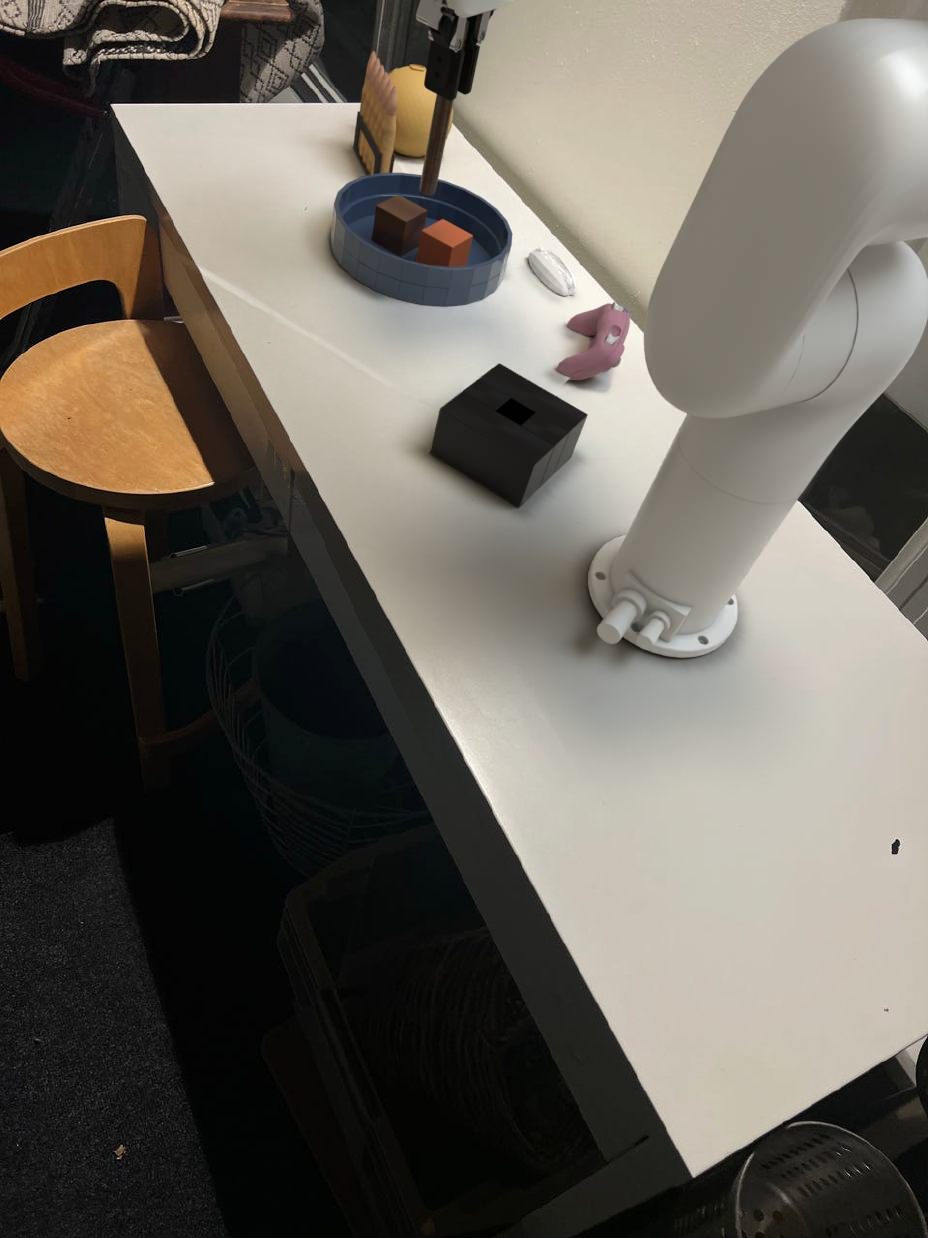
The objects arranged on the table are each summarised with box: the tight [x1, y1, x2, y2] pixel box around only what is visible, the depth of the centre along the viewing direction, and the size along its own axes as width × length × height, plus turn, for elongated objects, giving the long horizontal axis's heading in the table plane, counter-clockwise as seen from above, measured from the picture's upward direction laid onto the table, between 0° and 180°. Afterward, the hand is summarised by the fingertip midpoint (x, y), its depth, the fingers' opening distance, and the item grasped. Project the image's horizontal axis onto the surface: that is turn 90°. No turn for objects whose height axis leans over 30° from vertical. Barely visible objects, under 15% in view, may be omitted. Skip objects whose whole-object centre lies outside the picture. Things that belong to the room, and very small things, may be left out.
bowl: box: [330, 172, 513, 307], centre depth 97 cm, size 19×19×5 cm
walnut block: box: [372, 195, 427, 256], centre depth 98 cm, size 4×4×4 cm
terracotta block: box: [416, 219, 473, 267], centre depth 96 cm, size 4×4×4 cm
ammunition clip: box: [352, 50, 397, 176], centre depth 105 cm, size 11×2×12 cm, turn 19°
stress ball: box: [387, 63, 454, 158], centre depth 111 cm, size 10×10×10 cm
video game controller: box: [556, 301, 631, 381], centre depth 92 cm, size 10×5×7 cm, turn 168°
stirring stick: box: [419, 16, 469, 196], centre depth 82 cm, size 2×2×15 cm
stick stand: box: [429, 362, 589, 509], centre depth 80 cm, size 10×10×5 cm
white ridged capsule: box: [527, 246, 579, 297], centre depth 101 cm, size 3×8×3 cm, turn 29°
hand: (447, 89), depth 81 cm, fingers closed on stirring stick, 1 cm apart
